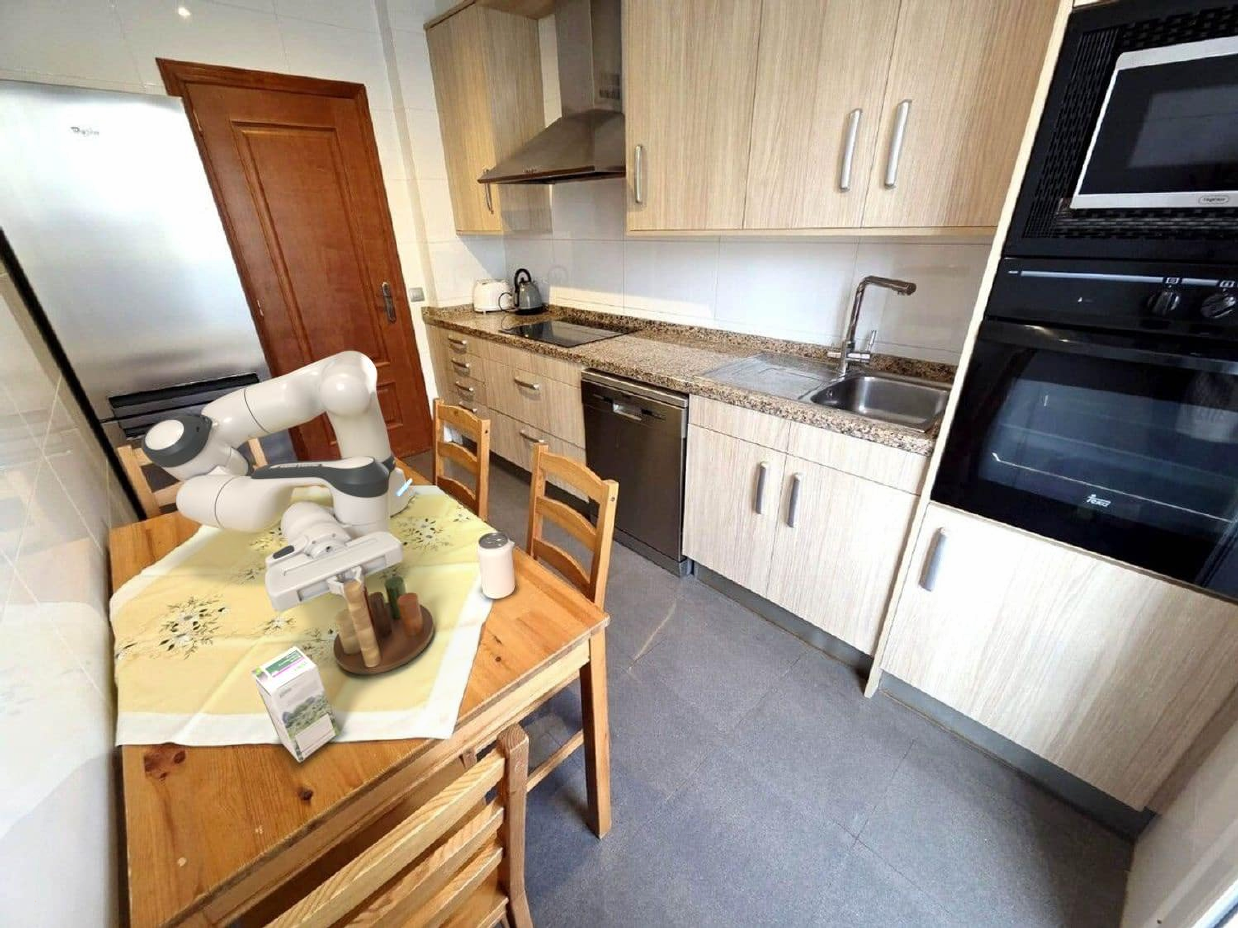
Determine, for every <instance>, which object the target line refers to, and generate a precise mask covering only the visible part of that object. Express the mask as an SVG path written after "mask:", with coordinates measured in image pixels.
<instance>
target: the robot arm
mask: <svg viewBox="0 0 1238 928" xmlns="http://www.w3.org/2000/svg"><path fill="white" fill-rule="evenodd" d="M377 381H378V371H377V368H376V366H375V364H374V362H373V361H372V360H371V359H370V358H369V357H368V355H366V354H364V353H363V352H360V351H357V350H344V351H340V352H339V353H335V354H333V355H329V356H327V357H325V358H322V359H320V360H318V361H315V362H312V363H310V364H307V365H306V366H303V367H300V368H298V369H296V370H294V371H291V372H289V373H287V374H283V375H281V376H278V377H277V376H276V377H274V378H271V379H268V380H265V381H263V382H259V383H256V384H252V385H249V386H246V387H243V388H240V389H238V390H235V391H232V392H230V393H227V394H226V395H223V396H220V397H219V398H217V399H215V400H213V401H212V402H210V403H208V404H206V405H205V406H204V407H203V409H202V410H201V413H197V412H196V413H195V412H191V413H184V414H182V415H181V414H180V415H174V416H171V417H168V418H165V419H162V420H159V421H157V422H156V423H154V424H152V426H150V427H149V428H148V429H147V431H146V432H145V433H144V435H143V437H142V440H141V444H140V446H141V450H142V452H143V454H144V455H145V456H146V457H147V459H148V460H149V461H150V462H151V463H152V464H154V465H155V466H156V467H159V468H161V469H163V470H164V471H165V472H166V473H168V474H169V475H171V476H172V477H174V478H175V479H176V480H178V481H180V482H182V483H183V484H182V485H181V486H180V487H179V488H178V491H177V493H176V495H175V505H176V508H177V510H178V512H179V514H180V515H182V516H183V517H184V518H186V519H187V520H190V521H192V522H195V523H197V524H201V525H203V526H208V527H211V528H215V529H219V530H225V531H231V532H237V533H248V534H249V533H251V534H252V533H261V532H264V531H266V530H269V529H270V528H272V527H274V526H275V525H277V524H278V523H279V522H280V523H279V524H280V532H281V536H282V538H283V540H284V543H285V544H286V545H285V546H284V547H282V548H281V549H279V550H277V551H275V552H273V553H271V554H269V555H268V556H267V557H265V558H264V561H265V568H266V571H265V574H264V585H265V586H264V587H265V589H266V592H267V596H268V598H269V601H270V604H271V606H272V609H273V611H275V612H278V613H284V612H285V611H289V610H291V609H293V608H296V607H298V606H301V605H303V604H305V603H307V602H309V601H312V600H315V599H317V598H319V597H322V596H324V595H327V594H329V593H330V594H333V595H340V596H342V597H343V599H345V600H346V597H345V593H344V590H343V587H344V586H345V585H346V584H347V583H349V582H352V581H359V582H360V583H361V586H362V590H363V591H365V589H364V586H365V585H364V582H365V578H367V577H369V576H370V575H374V574H376V573H378V572H382V571H383V570H386V569H387V568H390V567H393V566H395V565H398V564H400V563H402V562H403V561H404V558H405V550H404V547H403V543H402V542H401V540H400V539H398V538H397V537H395V536H394V535H393V534H392V526H391V523H392V522H391V517H392V516H394V515H397V514H399V513H400V512H402V511H403V510H405V508H406V507H408V504H409V502H410V501H411V500H412V499H413V498H414V497H415V496H416V493H415V491H414V490H412V489H411V488H409V486H410V484H411V483H412V482H413V480H412V479H413V478H410V479H408V480H406V476H405V473H404V470H403V469H401V468H400V467H397V463H396V456H395V454H394V452H393V451H392V450H391V449H392V448H391V444H390V440H389V435H388V434H389V433H388V429H387V425H386V422H385V419H384V416H383V413H382V410H381V406H380V402H379V399H378V393H377ZM324 413H326V415H327V417H328V419H329V422H330V424H331V426H332V428H333V431H334V434H335V438H336V441H337V446H338V450H339V454H340V457H341V458H337V459H335V458H334V459H317V460H316V459H315V460H297V461H293V460H292V461H281V462H274V463H269V464H266V465H263V466H259V467H258V468H256V469H255V467H254V466H253V464H252V463H251V461H250V459H248V458H247V457H246V456H245V455H244V454H243V455H242V454H241V453H240V451H238V450H237V449H238V448H240V446H242V445H244V443H246V442H247V441H252V440H256V439H259V438H262V437H267V436H269V435H273V434H276V433H278V432H279V433H280V432H282V431H284V430H285V431H286V430H288V429H291V428H293V427H297V426H299V425H302V424H305V423H308V422H310V421H313V420H314V419H316V418H317V417H319V416H320V415H322V414H324ZM298 486H299V487H301V486H302V487H304V486H325V487H327V489H328V490H329V492H330V493H331V496H332V504H333V506H328V505H323V504H320V503H319V502H316V501H314V500H310V499H304V500H303V499H302V500H299V501H296V502H294V503H292V504H291V501H292V498H293V497H292V496H293V493H294V489H295V488H296V487H298Z"/></svg>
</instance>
